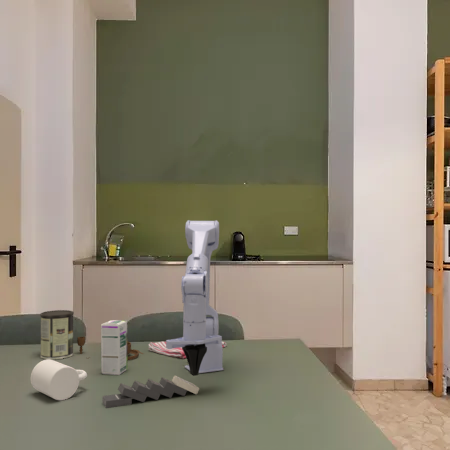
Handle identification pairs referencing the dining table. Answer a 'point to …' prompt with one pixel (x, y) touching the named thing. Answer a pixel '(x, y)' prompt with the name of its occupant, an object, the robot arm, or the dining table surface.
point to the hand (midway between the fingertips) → (194, 374)
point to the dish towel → (174, 352)
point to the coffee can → (56, 334)
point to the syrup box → (114, 347)
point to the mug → (56, 379)
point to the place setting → (82, 341)
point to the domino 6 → (185, 384)
